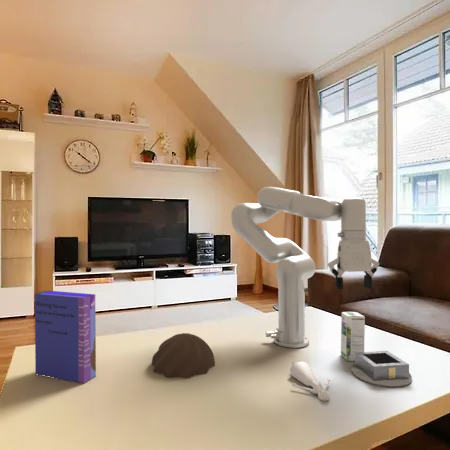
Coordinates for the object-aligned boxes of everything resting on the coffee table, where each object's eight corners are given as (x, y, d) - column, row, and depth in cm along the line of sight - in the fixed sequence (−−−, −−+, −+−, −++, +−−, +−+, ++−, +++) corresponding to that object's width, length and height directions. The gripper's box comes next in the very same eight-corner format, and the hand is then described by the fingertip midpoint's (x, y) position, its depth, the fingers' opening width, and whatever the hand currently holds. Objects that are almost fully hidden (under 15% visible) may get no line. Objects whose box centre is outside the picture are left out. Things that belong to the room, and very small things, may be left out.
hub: (369, 389, 95) (370, 371, 95) (342, 365, 111) (342, 349, 111) (424, 385, 97) (424, 367, 97) (389, 362, 113) (389, 347, 113)
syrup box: (340, 354, 119) (340, 311, 119) (357, 354, 120) (357, 311, 120) (347, 361, 114) (347, 316, 113) (365, 361, 114) (365, 315, 114)
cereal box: (95, 376, 103) (95, 293, 103) (84, 383, 98) (83, 297, 98) (48, 368, 109) (47, 289, 108) (35, 374, 104) (34, 292, 104)
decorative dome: (225, 359, 116) (225, 328, 116) (194, 384, 98) (194, 348, 98) (175, 350, 124) (175, 321, 124) (138, 371, 107) (138, 338, 106)
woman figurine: (314, 356, 107) (348, 387, 90) (313, 370, 108) (347, 404, 90) (277, 359, 104) (305, 392, 87) (277, 374, 105) (305, 410, 87)
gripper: (333, 236, 111) (333, 291, 111) (384, 236, 113) (385, 289, 114) (323, 236, 119) (323, 287, 119) (371, 235, 121) (372, 285, 121)
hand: (353, 288), depth 116 cm, fingers open, 9 cm apart
